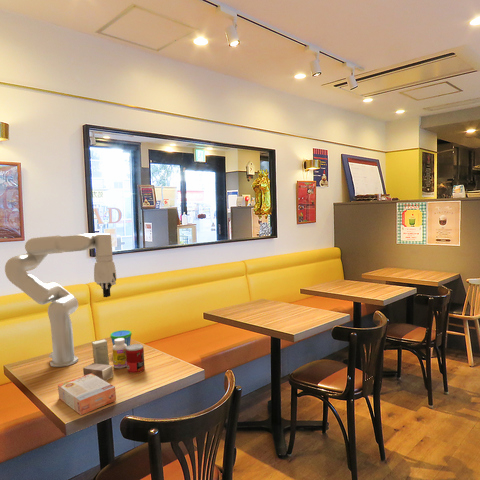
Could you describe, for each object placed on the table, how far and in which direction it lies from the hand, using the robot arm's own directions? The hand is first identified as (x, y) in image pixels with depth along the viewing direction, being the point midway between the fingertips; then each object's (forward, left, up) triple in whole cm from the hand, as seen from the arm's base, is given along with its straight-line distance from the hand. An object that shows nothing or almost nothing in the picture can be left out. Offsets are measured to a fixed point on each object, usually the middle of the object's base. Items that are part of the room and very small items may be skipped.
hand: (107, 296), depth 193 cm
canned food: (+19, -6, -32) cm, 38 cm away
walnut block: (+14, -18, -30) cm, 37 cm away
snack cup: (-3, +12, -32) cm, 35 cm away
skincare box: (0, -7, -32) cm, 33 cm away
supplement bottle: (+9, -4, -32) cm, 34 cm away
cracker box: (+9, -32, -29) cm, 44 cm away
